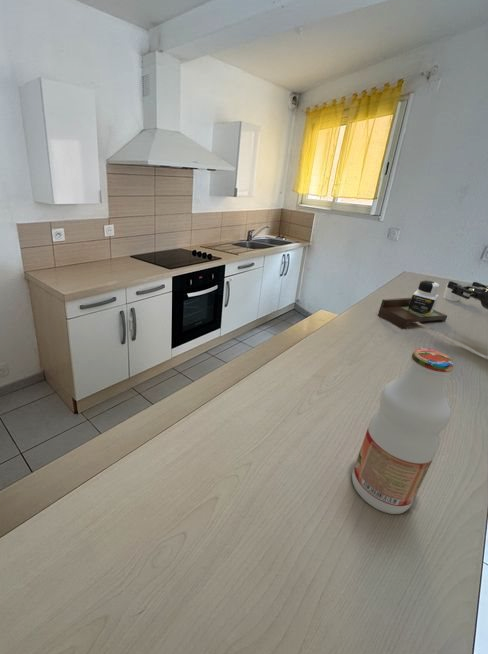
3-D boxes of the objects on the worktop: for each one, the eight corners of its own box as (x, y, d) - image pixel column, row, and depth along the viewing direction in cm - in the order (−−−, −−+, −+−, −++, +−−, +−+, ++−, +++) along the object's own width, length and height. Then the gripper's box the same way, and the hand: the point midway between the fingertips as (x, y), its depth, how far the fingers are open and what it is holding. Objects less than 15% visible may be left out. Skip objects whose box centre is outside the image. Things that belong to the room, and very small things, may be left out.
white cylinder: (444, 295, 156) (449, 281, 154) (461, 299, 152) (467, 285, 149) (439, 298, 152) (445, 284, 149) (457, 302, 147) (463, 288, 145)
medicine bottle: (407, 310, 125) (417, 281, 120) (411, 306, 129) (421, 277, 125) (428, 316, 120) (440, 286, 115) (432, 311, 125) (443, 282, 120)
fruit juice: (369, 517, 53) (426, 375, 42) (341, 467, 61) (382, 339, 50) (423, 515, 53) (494, 375, 42) (388, 467, 62) (439, 340, 51)
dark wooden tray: (416, 312, 135) (421, 296, 132) (443, 325, 124) (450, 308, 121) (377, 315, 130) (382, 299, 127) (402, 329, 119) (408, 312, 116)
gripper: (536, 291, 92) (485, 274, 107) (489, 290, 91) (444, 273, 106) (524, 315, 95) (476, 295, 110) (479, 314, 94) (436, 294, 109)
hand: (461, 284), depth 108 cm, fingers open, 8 cm apart
